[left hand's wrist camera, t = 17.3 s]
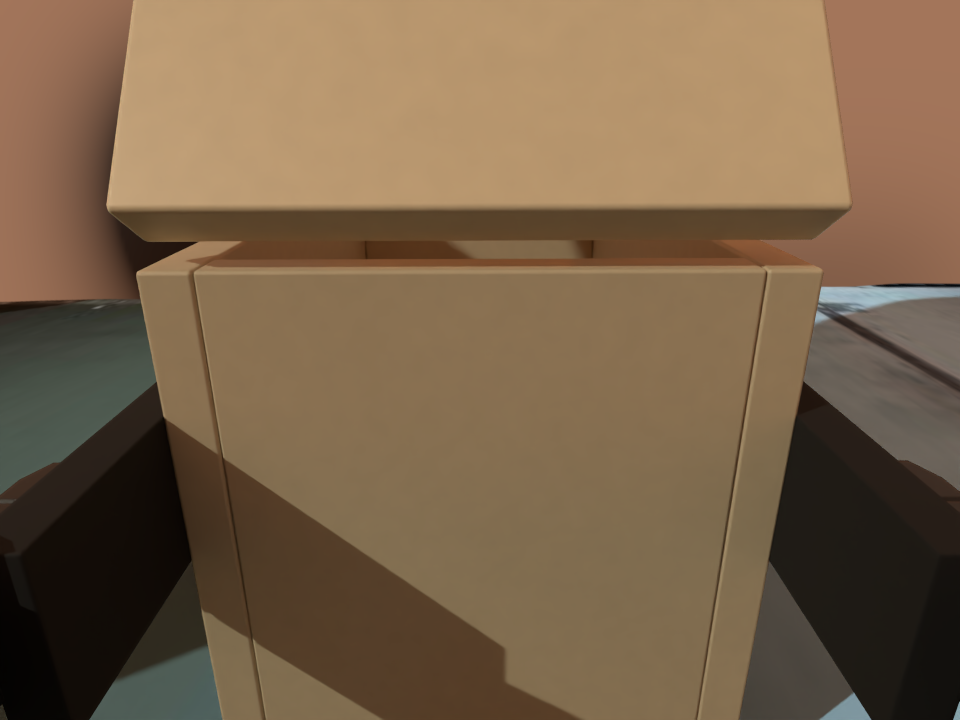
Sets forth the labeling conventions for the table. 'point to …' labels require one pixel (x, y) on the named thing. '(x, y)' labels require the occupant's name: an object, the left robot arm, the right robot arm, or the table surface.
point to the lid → (478, 121)
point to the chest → (480, 469)
